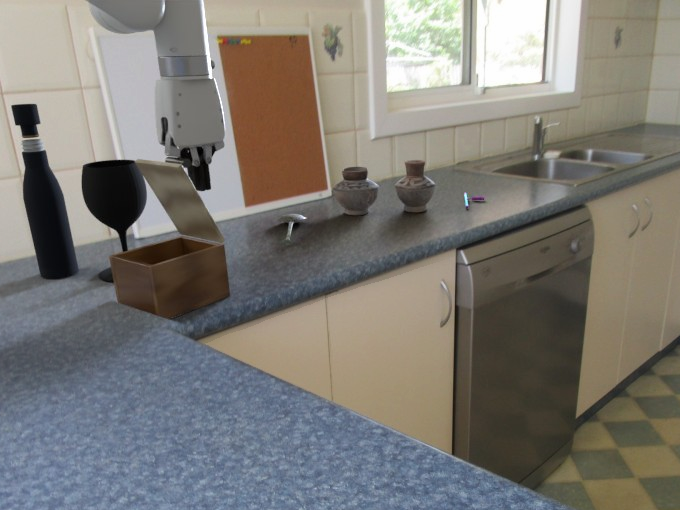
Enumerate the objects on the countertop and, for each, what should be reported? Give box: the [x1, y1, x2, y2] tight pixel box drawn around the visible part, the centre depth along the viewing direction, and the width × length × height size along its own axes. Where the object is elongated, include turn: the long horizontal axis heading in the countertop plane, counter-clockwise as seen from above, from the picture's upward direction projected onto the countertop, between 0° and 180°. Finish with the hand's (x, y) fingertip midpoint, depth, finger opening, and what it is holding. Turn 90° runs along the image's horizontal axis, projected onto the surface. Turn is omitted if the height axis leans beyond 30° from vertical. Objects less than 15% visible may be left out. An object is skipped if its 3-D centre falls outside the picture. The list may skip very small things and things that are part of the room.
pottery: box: [332, 159, 436, 216], centre depth 161 cm, size 11×25×12 cm, turn 97°
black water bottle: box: [10, 103, 80, 280], centre depth 117 cm, size 6×6×30 cm
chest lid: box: [134, 156, 226, 244], centre depth 105 cm, size 14×11×4 cm
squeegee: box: [463, 192, 485, 209], centre depth 170 cm, size 15×1×5 cm
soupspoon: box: [277, 213, 307, 247], centre depth 145 cm, size 22×3×7 cm
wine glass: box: [80, 159, 148, 283], centre depth 118 cm, size 10×10×20 cm
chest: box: [108, 235, 231, 320], centre depth 105 cm, size 14×11×9 cm
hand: (200, 189), depth 107 cm, fingers closed
